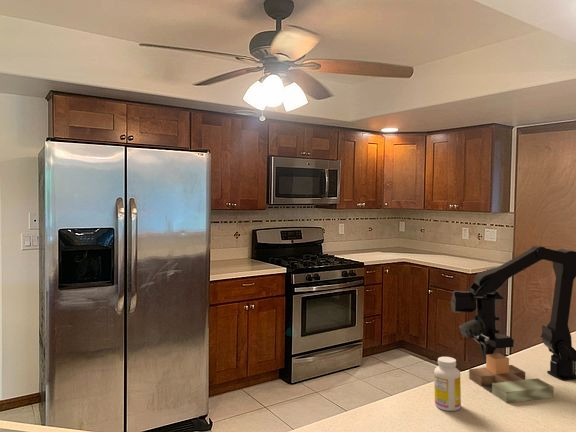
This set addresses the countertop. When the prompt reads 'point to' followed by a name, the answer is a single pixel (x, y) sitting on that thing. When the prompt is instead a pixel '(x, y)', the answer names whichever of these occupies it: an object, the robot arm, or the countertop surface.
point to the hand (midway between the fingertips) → (486, 361)
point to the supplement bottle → (447, 385)
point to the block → (497, 363)
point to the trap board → (511, 385)
